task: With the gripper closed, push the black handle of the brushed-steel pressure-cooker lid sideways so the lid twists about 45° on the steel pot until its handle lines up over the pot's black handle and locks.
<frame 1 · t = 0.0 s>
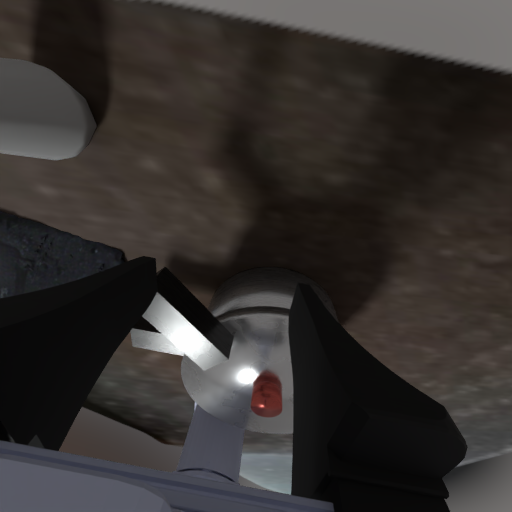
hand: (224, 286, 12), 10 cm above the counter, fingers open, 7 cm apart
salt shaker: (72, 117, 18), on the counter
pot: (270, 321, 26), on the counter
lid: (246, 370, 18), point 8 cm above the counter, hinge at -45.0°
dark slate chunk: (42, 275, 27), on the counter
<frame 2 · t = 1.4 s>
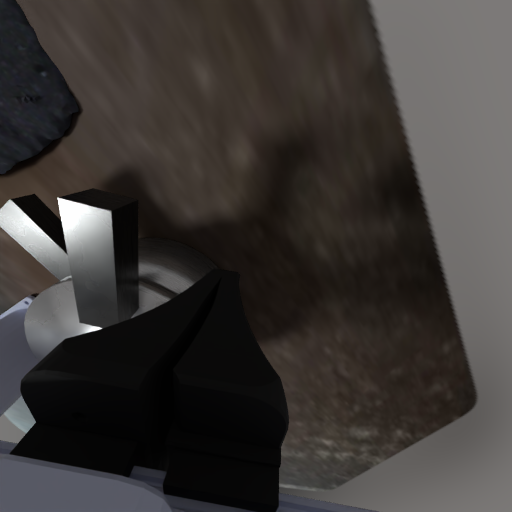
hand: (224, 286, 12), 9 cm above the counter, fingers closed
pot: (168, 300, 24), on the counter
lid: (119, 342, 15), point 8 cm above the counter, hinge at -45.0°
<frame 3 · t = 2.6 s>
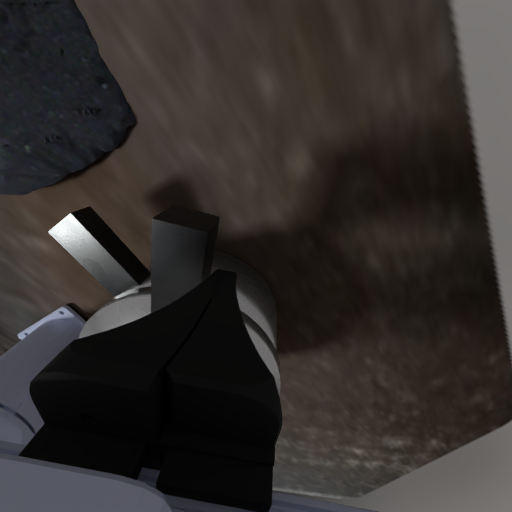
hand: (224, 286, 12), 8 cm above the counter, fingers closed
pot: (207, 310, 23), on the counter
lid: (178, 359, 15), point 8 cm above the counter, hinge at -44.7°, touching gripper
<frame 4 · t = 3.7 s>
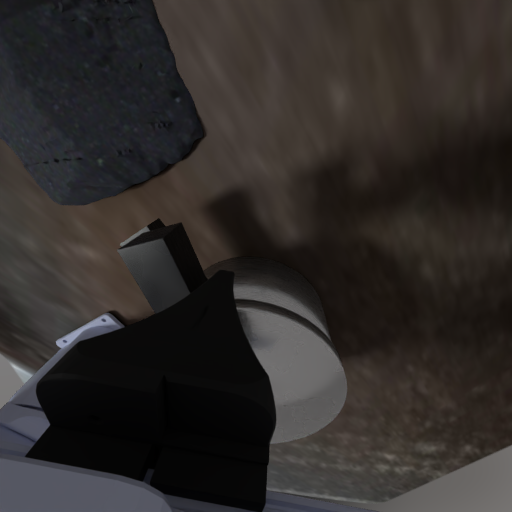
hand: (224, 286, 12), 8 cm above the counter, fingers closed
pot: (252, 318, 23), on the counter
lid: (227, 370, 15), point 8 cm above the counter, hinge at -15.4°, touching gripper
dark slate chunk: (38, 19, 14), on the counter
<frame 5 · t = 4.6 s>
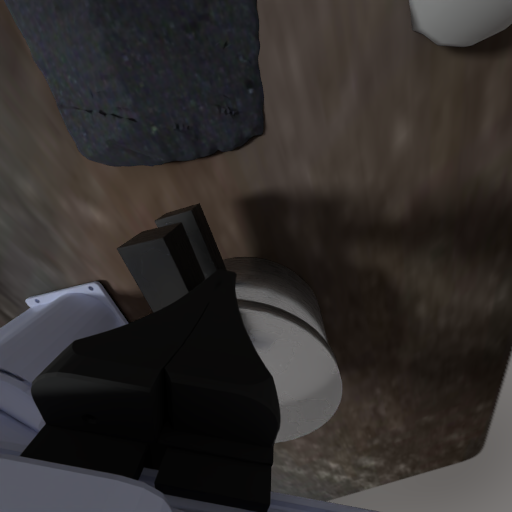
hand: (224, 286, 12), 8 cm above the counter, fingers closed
pot: (249, 318, 23), on the counter
lid: (224, 370, 15), point 8 cm above the counter, hinge at -1.9°, touching gripper
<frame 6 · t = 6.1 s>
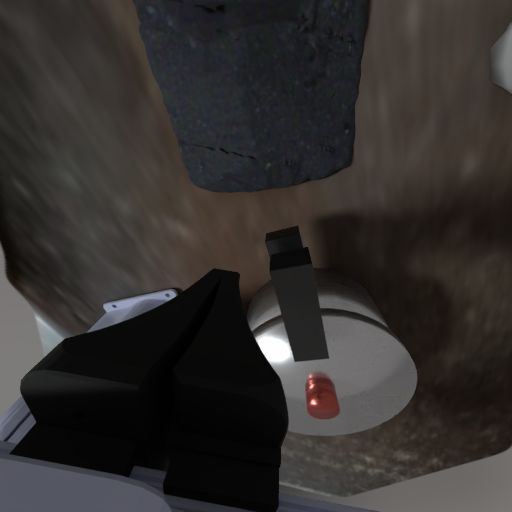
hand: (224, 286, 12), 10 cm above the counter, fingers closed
pot: (309, 322, 26), on the counter
lid: (315, 369, 17), point 8 cm above the counter, hinge at -1.8°
dark slate chunk: (246, 16, 15), on the counter
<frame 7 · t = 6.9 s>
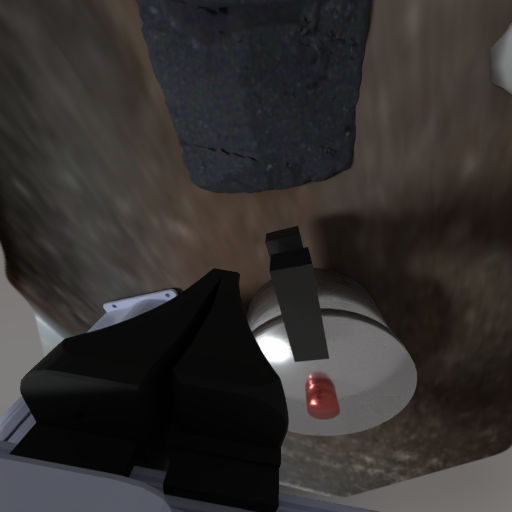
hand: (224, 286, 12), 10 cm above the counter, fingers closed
pot: (309, 322, 26), on the counter
lid: (315, 369, 17), point 8 cm above the counter, hinge at -1.8°
dark slate chunk: (249, 18, 15), on the counter
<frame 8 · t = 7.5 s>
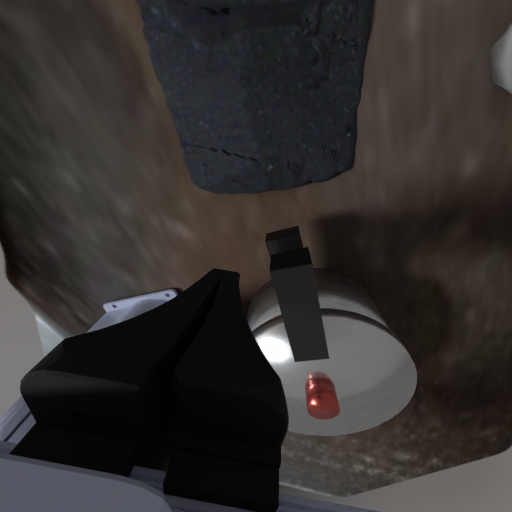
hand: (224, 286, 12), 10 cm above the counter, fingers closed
pot: (309, 322, 26), on the counter
lid: (315, 369, 17), point 8 cm above the counter, hinge at -1.8°
dark slate chunk: (250, 19, 15), on the counter
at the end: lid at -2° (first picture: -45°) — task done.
